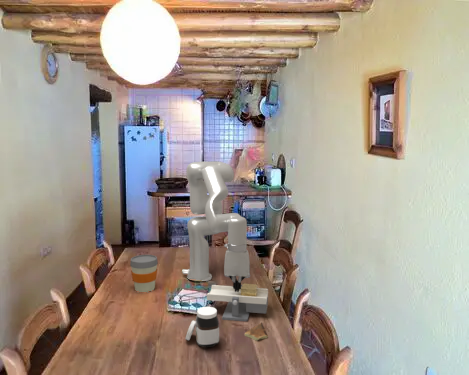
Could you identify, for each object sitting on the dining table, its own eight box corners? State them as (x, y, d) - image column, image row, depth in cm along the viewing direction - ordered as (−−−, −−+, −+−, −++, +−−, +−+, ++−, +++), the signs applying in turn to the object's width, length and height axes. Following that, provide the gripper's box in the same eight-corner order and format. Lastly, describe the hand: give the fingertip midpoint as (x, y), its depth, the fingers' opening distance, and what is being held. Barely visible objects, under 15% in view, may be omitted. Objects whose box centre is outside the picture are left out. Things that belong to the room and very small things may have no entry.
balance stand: (222, 319, 155) (222, 299, 154) (229, 301, 172) (229, 283, 171) (247, 321, 154) (247, 300, 153) (252, 303, 171) (252, 284, 169)
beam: (206, 309, 160) (206, 294, 159) (212, 299, 170) (212, 284, 169) (265, 314, 156) (266, 298, 155) (267, 303, 166) (268, 288, 165)
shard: (261, 325, 151) (261, 321, 151) (278, 332, 146) (278, 327, 146) (243, 336, 143) (243, 332, 143) (260, 344, 138) (260, 339, 138)
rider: (240, 298, 159) (240, 288, 158) (243, 292, 164) (243, 283, 164) (255, 299, 158) (255, 289, 157) (257, 293, 163) (257, 284, 163)
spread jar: (221, 347, 135) (221, 315, 133) (188, 353, 132) (188, 320, 130) (213, 331, 146) (213, 301, 145) (183, 335, 143) (182, 305, 142)
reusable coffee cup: (130, 295, 179) (129, 263, 177) (131, 285, 191) (130, 255, 189) (158, 293, 181) (157, 261, 179) (158, 283, 193) (157, 253, 191)
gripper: (217, 249, 157) (217, 293, 159) (254, 250, 155) (254, 295, 157) (220, 244, 164) (221, 286, 167) (256, 245, 162) (256, 288, 164)
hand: (237, 290), depth 162 cm, fingers closed
